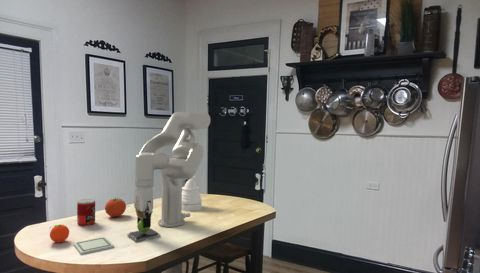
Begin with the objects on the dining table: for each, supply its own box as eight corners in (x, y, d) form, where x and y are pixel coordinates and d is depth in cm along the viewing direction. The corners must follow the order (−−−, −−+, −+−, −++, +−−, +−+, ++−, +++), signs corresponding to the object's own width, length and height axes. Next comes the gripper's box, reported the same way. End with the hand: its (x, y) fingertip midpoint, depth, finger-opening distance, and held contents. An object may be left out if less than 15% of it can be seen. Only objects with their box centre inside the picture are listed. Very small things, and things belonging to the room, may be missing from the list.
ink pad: (151, 231, 146) (151, 227, 146) (160, 236, 139) (160, 233, 139) (127, 236, 139) (127, 232, 139) (135, 242, 132) (135, 238, 132)
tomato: (100, 218, 164) (100, 198, 164) (112, 213, 174) (113, 194, 174) (118, 220, 162) (118, 200, 161) (130, 214, 172) (130, 195, 171)
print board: (104, 238, 136) (104, 236, 136) (114, 247, 126) (114, 244, 126) (73, 244, 128) (73, 242, 128) (80, 254, 119) (80, 252, 119)
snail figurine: (136, 230, 141) (136, 202, 141) (151, 229, 142) (151, 202, 141) (133, 234, 136) (133, 205, 135) (149, 234, 136) (149, 205, 136)
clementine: (43, 244, 128) (43, 227, 127) (53, 238, 135) (53, 221, 134) (63, 245, 128) (63, 227, 127) (72, 239, 135) (72, 222, 134)
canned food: (88, 226, 151) (88, 203, 150) (73, 225, 152) (73, 202, 152) (98, 221, 158) (98, 199, 158) (84, 220, 160) (84, 198, 159)
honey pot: (190, 204, 196) (190, 174, 196) (206, 207, 189) (206, 176, 188) (174, 208, 186) (174, 177, 185) (190, 212, 178) (190, 179, 178)
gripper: (128, 181, 143) (128, 222, 143) (143, 187, 129) (143, 232, 130) (144, 179, 147) (144, 219, 148) (161, 185, 134) (160, 229, 134)
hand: (143, 224), depth 139 cm, fingers closed on snail figurine, 5 cm apart
